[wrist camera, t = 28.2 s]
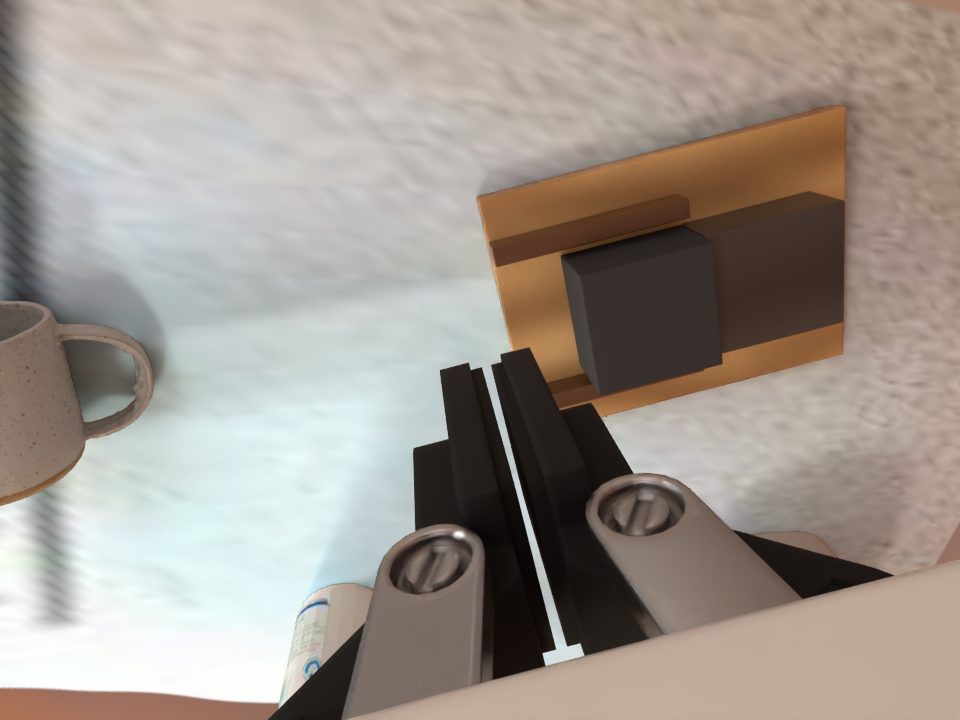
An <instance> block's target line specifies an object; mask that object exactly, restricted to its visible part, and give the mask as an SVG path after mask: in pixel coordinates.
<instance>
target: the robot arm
mask: <svg viewBox="0 0 960 720" xmlns="http://www.w3.org/2000/svg"><path fill="white" fill-rule="evenodd" d="M501 361H502V362H500V363H497V364H493V365H491V367H492V371H493V375H494V379H495V383H496V388H497V392H498V396H499V400H500V404H501V408H502V412H503V416H504V420H505V424H506V428H507V432H508V436H509V440H510V444H511V448H512V452H513V456H514V460H515V464H516V468H517V472H518V476H519V480H520V484H521V488H522V492H523V496H524V500H525V503H526V507H527V510H528V514H529V517H530V520H531V524H532V527H533V531H534V534H535V538H536V541H537V545H538V548H539V551H540V555H541V558H542V562H543V565H544V569H545V572H546V575H547V579H548V582H549V586H550V589H551V593H552V596H553V599H554V603H555V606H556V610H557V613H558V617H559V620H560V623H561V627H562V630H563V634H564V637H565V641H566V644H567V646H571V645H575V644H579V643H581V646H582V649H583V652H584V656H582V657H579V658H575V659H571V660H567V661H563V662H560V663H556V664H552V665H548V666H545V662H544V658H543V654H542V653H545V652H549V651H552V650H556V647H555V643H554V639H553V635H552V631H551V627H550V623H549V619H548V615H547V612H546V608H545V604H544V600H543V596H542V592H541V588H540V584H539V580H538V576H537V572H536V568H535V564H534V560H533V556H532V552H531V548H530V544H529V540H528V536H527V532H526V528H525V524H524V520H523V516H522V512H521V508H520V505H519V501H518V497H517V493H516V489H515V485H514V482H513V478H512V474H511V471H510V467H509V463H508V460H507V456H506V453H505V449H504V445H503V442H502V438H501V434H500V431H499V427H498V424H497V420H496V416H495V413H494V409H493V406H492V402H491V398H490V395H489V391H488V388H487V384H486V380H485V377H484V373H483V370H482V367H481V368H477V369H473V370H470V366H469V363H465V364H462V365H458V366H454V367H450V368H446V369H442V370H440V376H441V384H442V392H443V399H444V407H445V415H446V423H447V431H448V438H449V439H447V440H443V441H439V442H436V443H432V444H428V445H424V446H420V447H416V448H414V449H413V464H414V500H415V532H413V533H411V534H409V535H407V536H405V537H404V538H403V539H401V540H400V541H399V542H397V543H396V544H395V545H393V546H392V548H391V549H390V550H389V551H388V552H387V554H386V555H385V556H384V557H383V560H382V562H381V564H380V566H379V569H378V572H377V576H376V580H375V584H374V589H373V593H372V597H371V601H370V605H369V609H368V613H367V617H366V621H365V623H364V624H363V625H362V626H361V627H360V628H359V629H358V630H357V631H356V632H355V633H354V634H353V635H352V636H351V637H350V638H349V639H348V640H347V641H346V642H345V643H344V644H343V645H342V646H341V647H340V648H339V649H338V650H337V651H336V652H335V653H334V654H333V655H332V656H331V657H330V658H329V659H328V660H327V661H326V662H325V663H324V664H323V665H322V666H321V667H320V668H319V669H318V670H317V671H316V672H315V673H314V674H313V675H312V676H311V677H310V678H309V679H308V680H307V681H306V682H305V683H304V684H303V685H302V686H301V687H300V688H299V689H298V690H297V691H296V692H295V693H294V694H293V695H292V696H291V697H290V698H289V699H288V700H287V701H286V702H285V703H284V704H283V705H282V706H281V707H280V708H279V709H278V710H277V711H276V712H275V713H274V714H273V715H272V716H271V717H270V718H269V719H268V720H960V559H958V560H954V561H951V562H947V563H943V564H939V565H935V566H931V567H927V568H923V569H919V570H915V571H912V572H908V573H904V574H900V575H896V576H895V575H892V574H889V573H887V572H884V571H881V570H878V569H876V568H872V567H869V566H865V565H861V564H858V563H854V562H850V561H847V560H843V559H839V558H835V557H832V556H828V555H824V554H821V553H817V552H813V551H810V550H806V549H802V548H798V547H795V546H791V545H787V544H784V543H780V542H776V541H773V540H769V539H765V538H761V537H758V536H754V535H750V534H747V533H743V532H739V531H735V530H732V529H731V528H730V527H729V526H727V525H726V524H725V523H724V522H723V521H722V520H721V519H720V518H719V517H718V516H717V515H716V514H715V513H714V512H713V511H712V510H711V509H710V508H709V507H708V506H707V505H706V504H705V503H704V502H703V501H702V500H701V499H700V498H699V497H698V496H697V495H696V494H695V493H694V492H693V491H692V490H691V489H690V488H688V487H687V486H686V485H684V484H683V483H681V482H680V481H678V480H676V479H673V478H670V477H668V476H665V475H659V474H652V473H638V474H634V473H633V472H632V470H631V468H630V467H629V465H628V463H627V461H626V460H625V458H624V456H623V455H622V453H621V451H620V450H619V448H618V446H617V445H616V443H615V441H614V439H613V438H612V436H611V434H610V433H609V431H608V429H607V428H606V426H605V424H604V422H603V421H602V419H601V417H600V416H599V414H598V412H597V411H596V409H595V407H594V406H593V404H592V403H586V404H582V405H578V406H574V407H570V408H567V409H563V410H559V408H558V406H557V404H556V401H555V399H554V397H553V395H552V393H551V391H550V389H549V387H548V385H547V383H546V381H545V378H544V376H543V374H542V372H541V370H540V368H539V366H538V364H537V362H536V360H535V358H534V355H533V353H532V351H531V349H530V347H527V348H523V349H520V350H516V351H512V352H508V353H504V354H501Z"/></svg>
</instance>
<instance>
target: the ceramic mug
mask: <svg viewBox="0 0 960 720" xmlns="http://www.w3.org/2000/svg"><path fill="white" fill-rule="evenodd" d="M68 339H80V340H94V341H101V342H106V343H110V344H112V345H114V346H116V347H119V348H121V349H123V350H124V351H125V352H127V353H129V354H132V355H133V356H134V362H135V369H136V383H135V385H134V387H133V390H134V392H135V395H136V397H135V400H133V401H132V402H131V403H130V404H129V405H128V406H127V407H126V408H125V409H123V410H122V411H119V412H116V413H115V414H114V415H111V416H108V417H105V418H103V419H100V420H96V421H92V422H84V420H83V416H82V410H81V408H80V404H79V403H78V398H77V395H76V393H75V390H74V386H73V383H72V379H71V374H70V371H69V365H68V361H67V359H66V355H65V349H64V346H63V344H62V341H64V340H68ZM152 392H153V374H152V368H151V365H150V361H149V359H148V356H147V354H146V352H145V350H144V349H143V348H142V347H141V345H140V344H139V343H138V342H137V341H136V340H135V339H134V338H132V337H130V336H128V335H127V334H125V333H123V332H121V331H119V330H117V329H114V328H111V327H106V326H101V325H92V324H65V325H63V324H57V322H56V320H55V317H54V315H53V313H52V311H51V310H50V309H49V308H47V307H46V306H44V305H40V304H37V303H34V302H27V301H0V506H2V505H5V504H9V503H12V502H15V501H19V500H21V499H24V498H27V497H29V496H31V495H34V494H36V493H38V492H40V491H42V490H44V489H46V488H47V487H49V486H51V485H52V484H54V483H55V482H57V481H58V480H60V479H61V478H63V477H64V476H65V475H66V474H67V473H68V472H69V471H70V470H72V468H73V467H74V466H75V465H76V463H77V462H78V461H79V459H80V458H81V456H82V453H83V451H84V448H85V441H86V440H88V439H90V438H99V437H102V436H107V435H109V434H111V433H114V432H117V431H120V430H121V429H123V428H125V427H126V426H128V425H130V424H131V423H133V422H134V421H135V420H137V418H138V417H139V416H140V415H141V414H142V412H143V411H144V410H145V408H146V407H147V405H148V403H149V401H150V399H151V397H152Z"/></svg>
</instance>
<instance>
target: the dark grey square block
mask: <svg viewBox="0 0 960 720" xmlns="http://www.w3.org/2000/svg"><path fill="white" fill-rule="evenodd" d="M560 258H561V263H562V269H563V274H564V280H565V285H566V291H567V296H568V302H569V307H570V313H571V319H572V324H573V330H574V335H575V341H576V346H577V352H578V357H579V363H580V365H581V367H582V368H583V370H584V372H585V373H586V375H587V376H588V378H589V380H590V381H591V383H592V384H593V386H594V388H595V389H596V391H597V392H598V394H599V395H600V396H602V395H606V394H610V393H613V392H617V391H621V390H625V389H629V388H633V387H637V386H641V385H644V384H648V383H652V382H656V381H660V380H664V379H668V378H671V377H675V376H679V375H683V374H687V373H691V372H695V371H699V370H702V369H706V368H710V367H714V366H718V365H722V364H723V361H722V348H721V335H720V322H719V308H718V295H717V282H716V269H715V255H714V243H713V242H712V241H710V240H708V239H706V238H704V237H702V236H700V235H698V234H696V233H694V232H693V231H691V230H689V229H687V228H685V227H683V226H681V225H677V226H673V227H670V228H666V229H662V230H658V231H654V232H650V233H646V234H642V235H638V236H634V237H631V238H627V239H623V240H619V241H615V242H611V243H607V244H603V245H599V246H595V247H592V248H588V249H584V250H580V251H576V252H572V253H568V254H564V255H561V257H560Z"/></svg>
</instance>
